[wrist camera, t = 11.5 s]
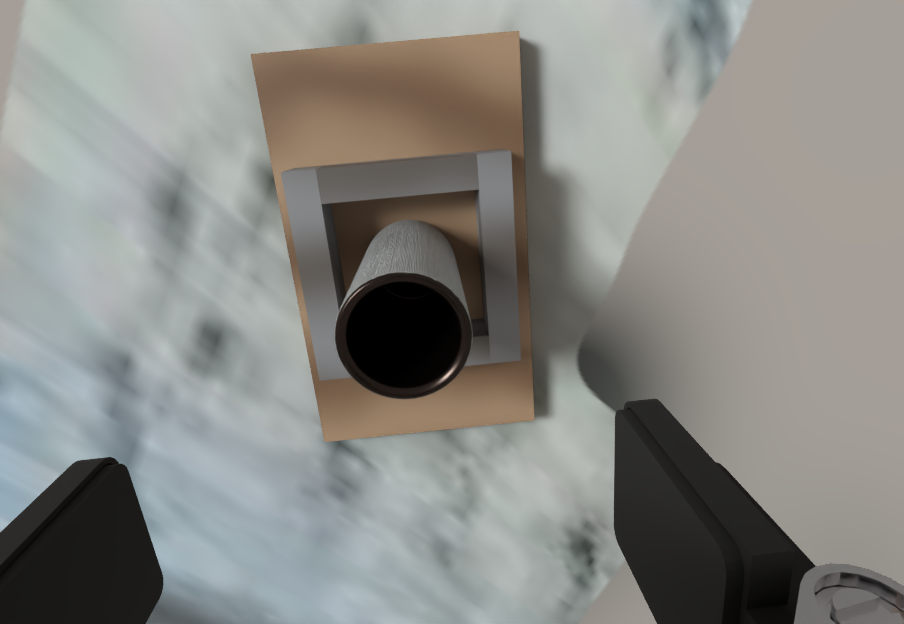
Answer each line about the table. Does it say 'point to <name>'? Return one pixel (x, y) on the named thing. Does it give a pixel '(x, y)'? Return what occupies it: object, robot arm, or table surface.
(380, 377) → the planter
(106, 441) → the table surface
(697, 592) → the robot arm
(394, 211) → the socket board
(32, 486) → the table surface
